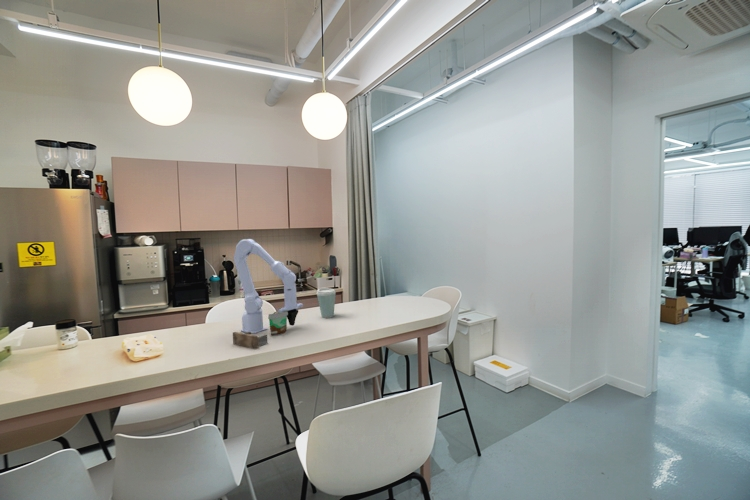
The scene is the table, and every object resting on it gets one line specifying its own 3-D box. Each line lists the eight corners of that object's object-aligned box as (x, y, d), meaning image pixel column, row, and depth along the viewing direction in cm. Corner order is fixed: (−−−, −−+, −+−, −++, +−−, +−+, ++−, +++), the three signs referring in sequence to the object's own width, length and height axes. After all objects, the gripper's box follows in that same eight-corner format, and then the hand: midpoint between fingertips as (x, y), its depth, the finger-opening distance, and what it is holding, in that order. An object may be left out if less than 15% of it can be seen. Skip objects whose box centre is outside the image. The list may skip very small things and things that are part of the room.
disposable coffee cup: (341, 315, 183) (339, 288, 182) (328, 320, 174) (326, 291, 173) (326, 313, 188) (325, 287, 187) (313, 317, 179) (311, 290, 178)
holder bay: (233, 344, 141) (232, 332, 141) (247, 338, 147) (246, 327, 147) (256, 348, 134) (255, 336, 134) (269, 343, 140) (269, 331, 140)
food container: (282, 336, 149) (280, 314, 148) (269, 336, 150) (268, 314, 150) (293, 328, 161) (292, 307, 161) (281, 328, 162) (280, 307, 162)
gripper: (285, 301, 153) (287, 330, 154) (306, 295, 165) (308, 322, 166) (274, 300, 156) (276, 328, 157) (296, 294, 169) (297, 320, 170)
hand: (292, 325), depth 162 cm, fingers closed
